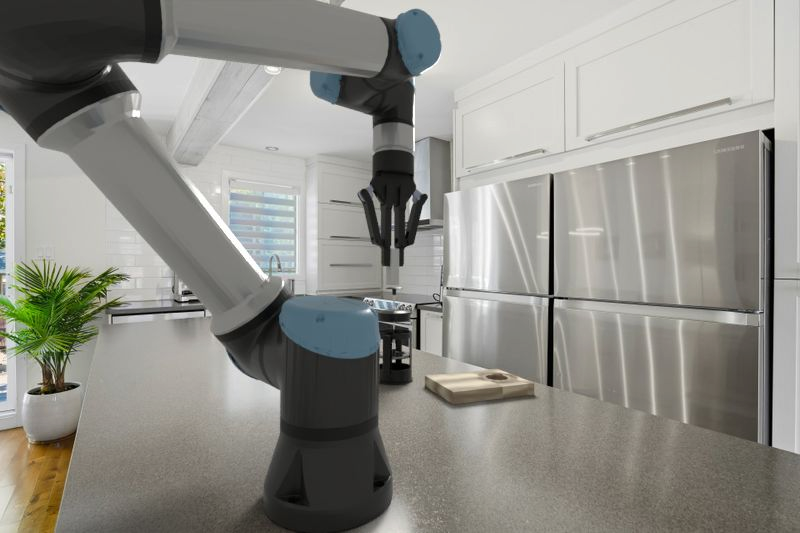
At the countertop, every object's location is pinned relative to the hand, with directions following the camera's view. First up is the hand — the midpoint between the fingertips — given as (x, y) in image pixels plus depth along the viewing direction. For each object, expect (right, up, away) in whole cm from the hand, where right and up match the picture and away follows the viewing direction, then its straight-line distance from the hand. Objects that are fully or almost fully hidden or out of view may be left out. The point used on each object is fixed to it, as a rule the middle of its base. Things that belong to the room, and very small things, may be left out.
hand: (392, 285), depth 74 cm
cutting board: (+19, -25, +20) cm, 37 cm away
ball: (+24, -23, +22) cm, 40 cm away
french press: (0, -25, +28) cm, 37 cm away
